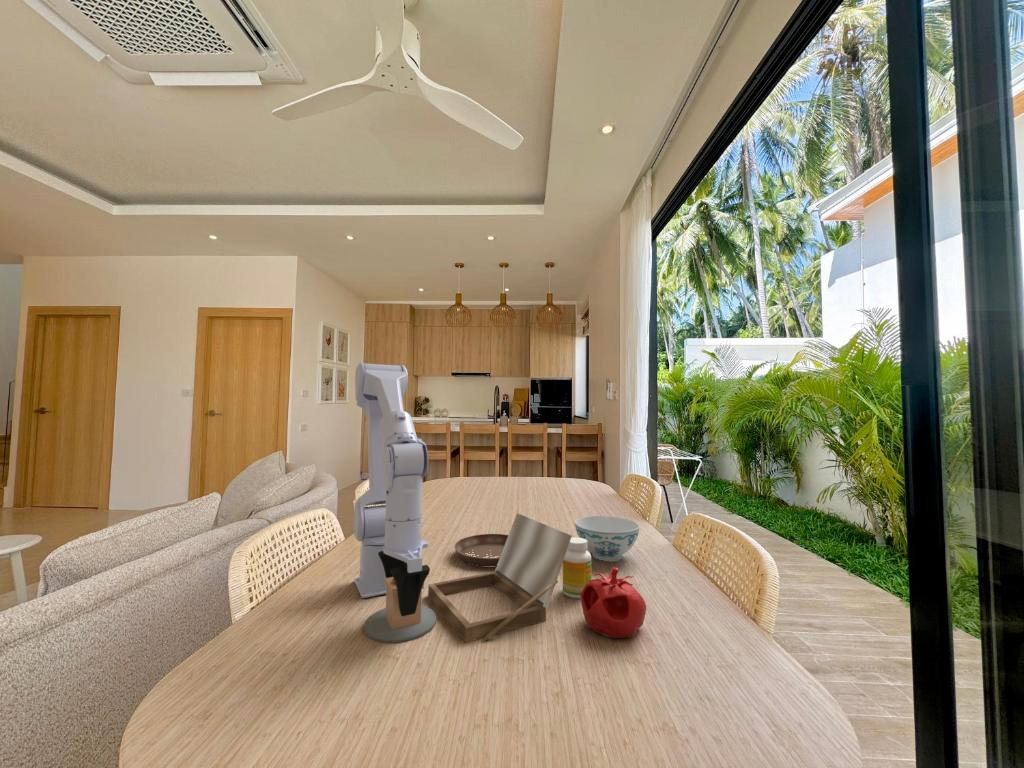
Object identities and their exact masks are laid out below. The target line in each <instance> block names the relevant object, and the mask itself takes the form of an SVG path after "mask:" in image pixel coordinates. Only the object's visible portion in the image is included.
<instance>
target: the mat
mask: <svg viewBox="0 0 1024 768" xmlns="http://www.w3.org/2000/svg"><path fill="white" fill-rule="evenodd" d="M436 614H437V613H435V611H434V610H433V609H432V608H430V607H428V606H425V605H422V604H421V622H420V623H416V624H412V625H408V626H404V627H400V628H395V629H392V628H391V626H390V624H389V623H388V621H387V619H386V617H385V615H386V607H384V608H382V609H379V610H378V611H375V612H373V613H372V614H371V615H369V617H368V618H366V620H365V623H364V633H365V635H366V636H367V637H369V638H370V639H372V640H375V641H377V642H383V643H402V642H408V641H412V640H414V639H417V638H420V637H423V636H425V635H426V634H428V633H429V632H431V630H433V629H434V628H435V626H436V624H437V615H436Z"/></svg>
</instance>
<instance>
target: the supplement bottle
mask: <svg viewBox="0 0 1024 768" xmlns="http://www.w3.org/2000/svg"><path fill="white" fill-rule="evenodd" d="M590 580H592V555H591V553H590V551H589V550H588V549H587V540H586V539H583V538H579V536H577V537H571V540H570V543H569V545H568V548H567V551H566V554H565V557H564V560H563V563H562V592H563V594H564V595H565V596H567V597H569V598H572V599H581V593H582V590H583V588H584V587H585V585H586V583H587V582H589V581H590Z"/></svg>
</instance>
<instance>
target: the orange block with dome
mask: <svg viewBox="0 0 1024 768" xmlns="http://www.w3.org/2000/svg"><path fill="white" fill-rule="evenodd" d="M384 584H385V585H386V594H385V608H386V615H385V617H386V619H387V621H388V623H389V624H390V626H391V628H392V629H395V628H400V627H404V626H408V625H412V624H416V623H420V622H421V605H422V592H423V591H422V590H423V589H424V588H425V587H424V586H425V584H423V586H422V589H421V592H420V596H419V600H418V604H417V608H416V612H415V614H411V615H407V616H401V613H400V609H399V602H398V593H397V587H396V584H395V581H394V578H393V577H389V578H385V582H384Z"/></svg>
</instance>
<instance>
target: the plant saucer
mask: <svg viewBox="0 0 1024 768" xmlns="http://www.w3.org/2000/svg"><path fill="white" fill-rule="evenodd" d="M508 535H509V534H504V533H502V534H501V533H481V534H475V535H470V536H467V537H463V538H461V539H459V540H458V541H456V543H455V544H454V550H455V552H456V554H457V555H458V556H459V557H460V559H463V560H462V561H464V562H465V563H466V562H467V563H466V564H468V563H470V564H469V565H471V564H473V565H472V566H475V565H478V566H477V567H480V566H497V564H498V561H499V559H500V556H501V554H502V551H503V548H504V546H505V543H506V540H507V538H508ZM472 550H473V551H472ZM490 550H491V551H490ZM469 552H470V553H469ZM472 552H474V553H472ZM465 553H468V554H475V556H476V557H473V556H474V555H472V556H471V555H470V556H469V555H467V554H465ZM490 553H491V554H490ZM486 554H488V555H486ZM477 555H479V556H477ZM490 555H492V556H490ZM486 556H489V557H488V558H483V557H486ZM495 556H499V557H497V558H490V557H495Z"/></svg>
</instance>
